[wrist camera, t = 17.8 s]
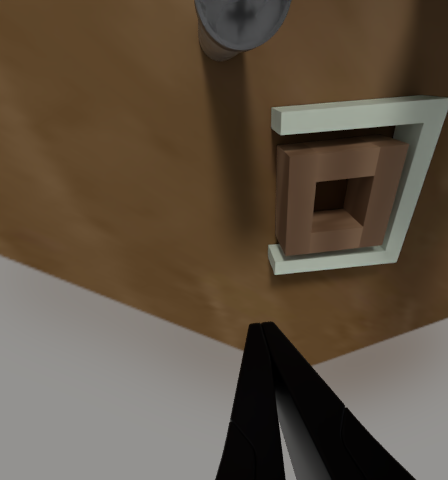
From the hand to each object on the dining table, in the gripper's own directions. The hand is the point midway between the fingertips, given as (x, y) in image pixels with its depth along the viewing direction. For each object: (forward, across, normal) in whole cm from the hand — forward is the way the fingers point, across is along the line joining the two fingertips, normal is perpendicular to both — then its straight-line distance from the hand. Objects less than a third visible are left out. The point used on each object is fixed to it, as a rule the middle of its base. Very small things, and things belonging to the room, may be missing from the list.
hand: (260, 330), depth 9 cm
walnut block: (+12, -7, 0) cm, 14 cm away
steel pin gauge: (+12, 0, -10) cm, 15 cm away
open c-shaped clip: (+12, -7, 0) cm, 14 cm away
